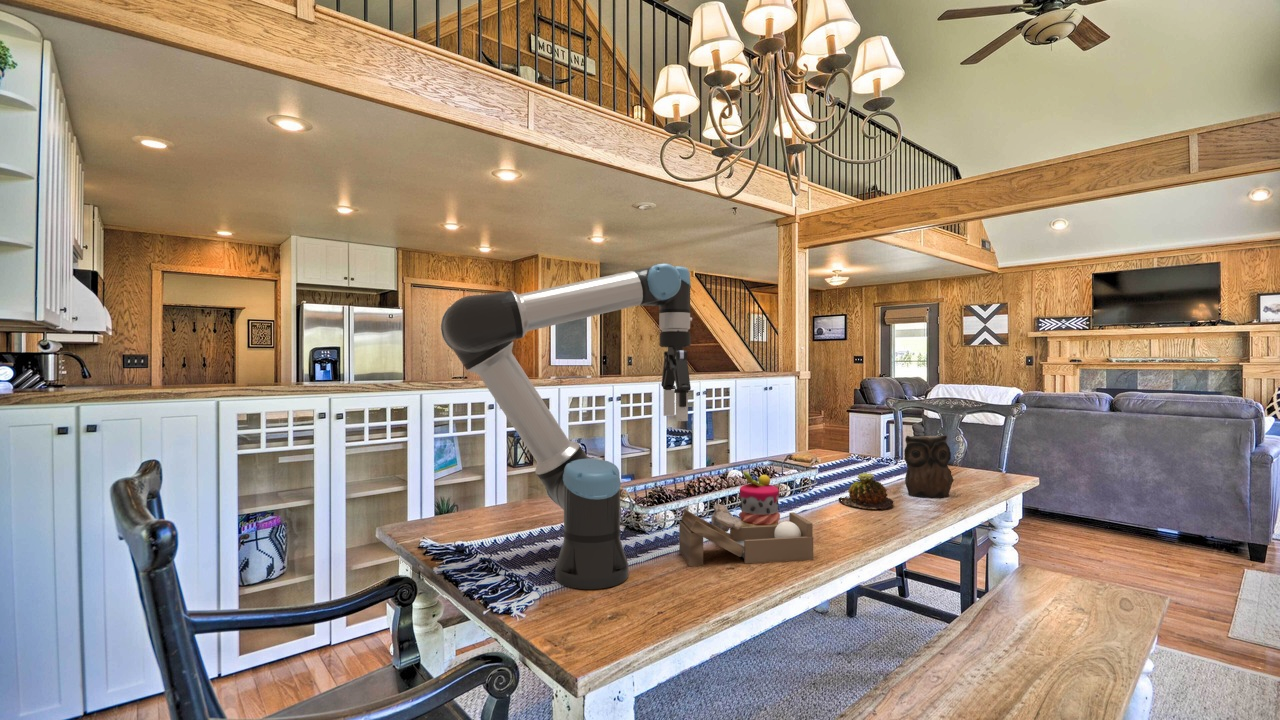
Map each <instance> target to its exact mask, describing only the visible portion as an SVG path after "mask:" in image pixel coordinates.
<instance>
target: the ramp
mask: <svg viewBox="0 0 1280 720" xmlns="http://www.w3.org/2000/svg"><path fill="white" fill-rule="evenodd" d="M680 520H681V521H679V522H678V523H679V527H678V528H679V529H678V530H679V536H678V537H679V539H678V541H679V542H678V543H679V544H678V545H679V546H678V547H679V553H680V555H681V556H682V557H683V559H684V560H685V562H686V563H687V565H688V566H689V567H700V566H704V539H706V540H708V541H710V542H712V543H714V544H715V545H717V546H718V547H720V548H722V549H724V550H726V551H728V552H730V553H732V554H734V555H736V556H738V557H739V558H741V557H742V554H743V552H744V550H745V547H744V546H743V545H741V544H739V543H737V542H735V541H733V540H732V539H731V538H732V535H731V534H730V532H725V531H723V530H722V529H720V528H718V527H716V526H714V525H712V522H708V521H707V520H705V519H703V518H701V517H700V516H697V515H696V514H694V513H692V512H690V511H688V510H686V509H684V512H683V514H682V515H681V517H680Z"/></svg>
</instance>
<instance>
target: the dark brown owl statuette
mask: <svg viewBox="0 0 1280 720" xmlns="http://www.w3.org/2000/svg"><path fill="white" fill-rule="evenodd" d="M947 438H948V436H947V435H944V434H943V435H927V436H926V435H921V436H920V435H919V436H918V435H917V436H915V435H914V436H910V435H906V437H905V444H906V445H905V447H904V450H903V452H904V461H905V464H906V467H907V470H906V474H905V477H904V480H905V481H904V482H905V488H906V490H907V492H908V493H907V495H908V496H909V497H915V498H923V499H924V498H931V499H932V498H937V499H940V498H941V499H942V498H946V497H949V496H950V491H951V488H952V484H953V482H954V478H953V475H952V470H951V469H950V468H949V466H948V463H949V462H950V460H951V458H952V453H951V448H950V446H949V445H948V443H947V442H946V441H947Z"/></svg>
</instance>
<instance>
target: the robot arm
mask: <svg viewBox="0 0 1280 720" xmlns="http://www.w3.org/2000/svg"><path fill="white" fill-rule="evenodd" d="M690 272H691V271H690V270H689V269H688V268H687V267H685V266H678V265H676V266H673V265H672V264H669V263H658V264H654V265H652V266H649V267H645V268H640V269H635V270H629V271H624V272H617V273H615V274H611V275H605V276H601V277H596V278H590V279H586V280H581V281H576V282H571V283H567V284H562V285H558V286H553V287H548V288H542V289H538V290H534V291H527V292H524V293H519V294H518V293H517V292H515V291H514V290H508V291H503V292H496V293H489V294H486V293H485V294H472V295H467V296H463V297H461V298H459V299H458V300H456V301H454V302H453V303H452V304H451V306H449V307H448V308H447V310H445V312H444V314H443V316H442V318H441V324H440V330H441V336H442V338H443V340H444V342H445V343H446V345H447V346H448V347H449V348H450V349H451V350H452V351H453V352H454V353H455V355H456V357H457V358H458V360H459V361H460V362H461V364H462V365H463V367H464V368H465V370H466V371H467V372H469V373H474V374H477V375H478V376H479V377H480V379H481V381H482V382H483V383H484V385H485V386H486V388H487V390H488V391H489V392H490V394H491V395H492V397H493V399H494V400H495V401H496V403H497V405H498V406H499V408H500V409H501V410H502V412H503V414H504V415H505V416H506V418H507V420H508V421H509V422H510V424H511V426H512V427H513V428H514V430H515V431H516V433H517V434H518V437H519V438H520V439H521V440H522V442H523V444H524V445H525V447H526V448H527V450H528V451H529V452H530V454H531V455H532V457H533V458H534V460H535V461H536V465H535V471H534V472H535V474H536V475H537V477H538V479H539V480H540V481H541V483H542V485H543V486H544V487H545V490H546V494H547V495H548V497H549V498H550V499H551V501H552V502H553V503H555V504H556V505H558V506H559V507H560V508H561V509H562V510H563V542H562V545H561V548H560V551H559V554H558V557H557V560H556V563H555V564H556V565H555V571H554V572H555V578H554V579H555V580H556V582H558V583H559V584H560V585H562V586H564V587H568V588H571V589H578V590H579V589H580V590H599V589H600V590H601V589H607V588H611V587H615V586H617V585H620V584H622V583H624V582H625V581H626V580H627V579H629V563H628V559H627V556H626V553H625V549H624V547H623V544H622V541H621V485H622V483H621V477H620V470H619V468H618V466H617V465H616V464H615V463H613V462H611V461H609V460H602V459H599V458H589V457H588V455H587V454H586V452H585V451H584V450H583V448H582V446H581V445H580V443H579V442H577V441H571V440H569V438H568V437H567V435H566V434H565V431H563V429H562V428H561V426H560V424H559V423H558V422H557V421H558V420H556V419H555V417H554V415H553V414H552V413H551V411H550V409H549V408H548V406H547V405H546V403H545V401H544V400H543V398H542V397H541V395H540V394H539V392H538V390H537V389H536V387H535V386H534V385H533V383H532V381H531V380H530V378H529V377H528V375H527V374H526V372H525V370H524V369H523V367H522V366H521V364H520V363H519V362H518V360H517V358H516V357H515V355H514V354H513V347H514V341H515V340H518V339H523V338H524V337H525V335H526V334H527V333H528V332H530V331H535V330H539V329H543V328H548V327H552V326H557V325H561V324H564V323H570V322H572V321H578V320H582V319H585V318H589V317H595V316H598V315H602V314H606V313H610V312H616V311H620V310H625V309H627V308H628V309H629V308H632V307H637V306H650V307H651V306H653V307H659V315H658V316H659V317H658V318H659V322H658V323H659V324H658V325H659V328H658V329H659V330H661V331H660V333H659V346H660V348H667V350H664V351H663V367H662V376H661V385H660V386H661V387H662V390H663V416H664V417H665V416H666V417H667V416H669V417H671V416H672V417H673V416H675V422H688V421H689V392H690V391H691V390H692V389H691V388H692V387H691V381H690V374H689V373H690V371H689V366H688V365H689V364H688V352H687V350H684V349H683V348H689V347H691V332H690V331H689V330H690V329H691V322H693V317H691V288H692V285H691V273H690Z"/></svg>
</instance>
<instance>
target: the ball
mask: <svg viewBox="0 0 1280 720" xmlns="http://www.w3.org/2000/svg"><path fill="white" fill-rule="evenodd" d="M774 536H775V538H788V537H801V532H800V529H799V528H798V526H797V525H796V524H794V523H792V522H789V521H787V520H786V521H782V522H780V523H778V525H777V527H776V529H775V532H774Z"/></svg>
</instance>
